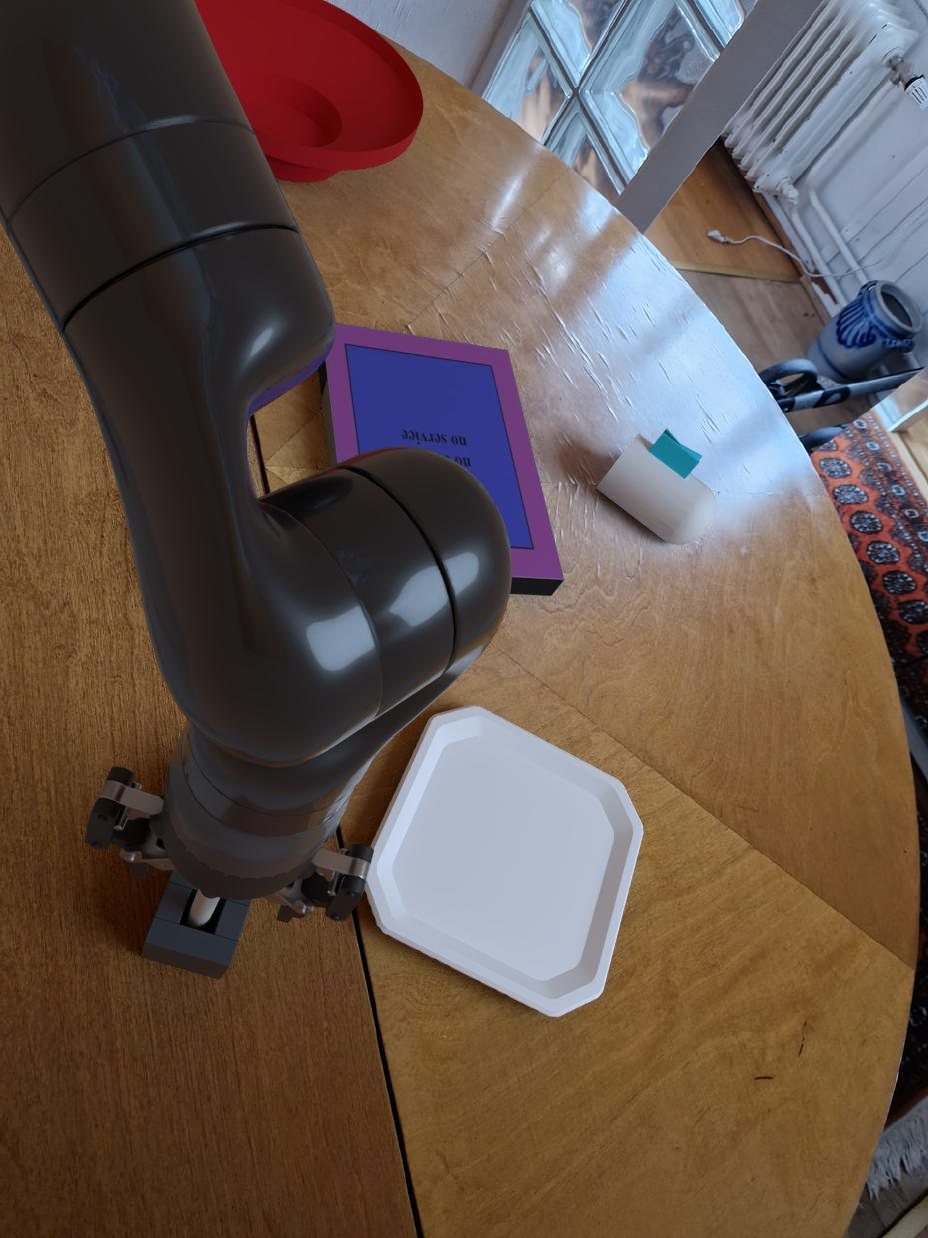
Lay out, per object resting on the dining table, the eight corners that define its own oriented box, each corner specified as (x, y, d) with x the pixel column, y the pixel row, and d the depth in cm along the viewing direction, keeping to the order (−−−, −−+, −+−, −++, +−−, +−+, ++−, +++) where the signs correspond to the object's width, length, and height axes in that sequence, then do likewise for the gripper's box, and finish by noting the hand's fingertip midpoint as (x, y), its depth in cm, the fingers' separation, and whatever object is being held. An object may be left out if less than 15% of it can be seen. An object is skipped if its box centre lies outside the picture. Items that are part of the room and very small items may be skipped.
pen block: (220, 980, 60) (229, 967, 56) (140, 957, 59) (144, 942, 55) (281, 800, 68) (293, 777, 64) (211, 777, 67) (219, 753, 63)
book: (508, 349, 99) (564, 579, 85) (498, 369, 101) (551, 595, 87) (321, 320, 91) (349, 568, 77) (315, 342, 94) (341, 586, 80)
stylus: (180, 932, 61) (197, 888, 51) (190, 913, 62) (208, 866, 52) (198, 940, 61) (219, 899, 52) (208, 921, 62) (230, 877, 52)
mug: (739, 498, 89) (643, 425, 89) (681, 565, 93) (590, 495, 94) (747, 472, 99) (661, 406, 99) (694, 533, 103) (612, 470, 104)
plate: (436, 695, 77) (444, 684, 75) (641, 804, 79) (654, 796, 77) (334, 917, 65) (341, 910, 63) (579, 1040, 67) (593, 1037, 65)
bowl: (148, 35, 110) (152, -54, 102) (384, 94, 121) (405, 18, 113) (150, 196, 96) (156, 108, 88) (417, 246, 107) (443, 172, 99)
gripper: (426, 764, 42) (348, 859, 55) (130, 664, 40) (122, 787, 53) (388, 921, 38) (313, 983, 51) (54, 819, 36) (65, 912, 49)
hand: (216, 883), depth 52 cm, fingers open, 8 cm apart
